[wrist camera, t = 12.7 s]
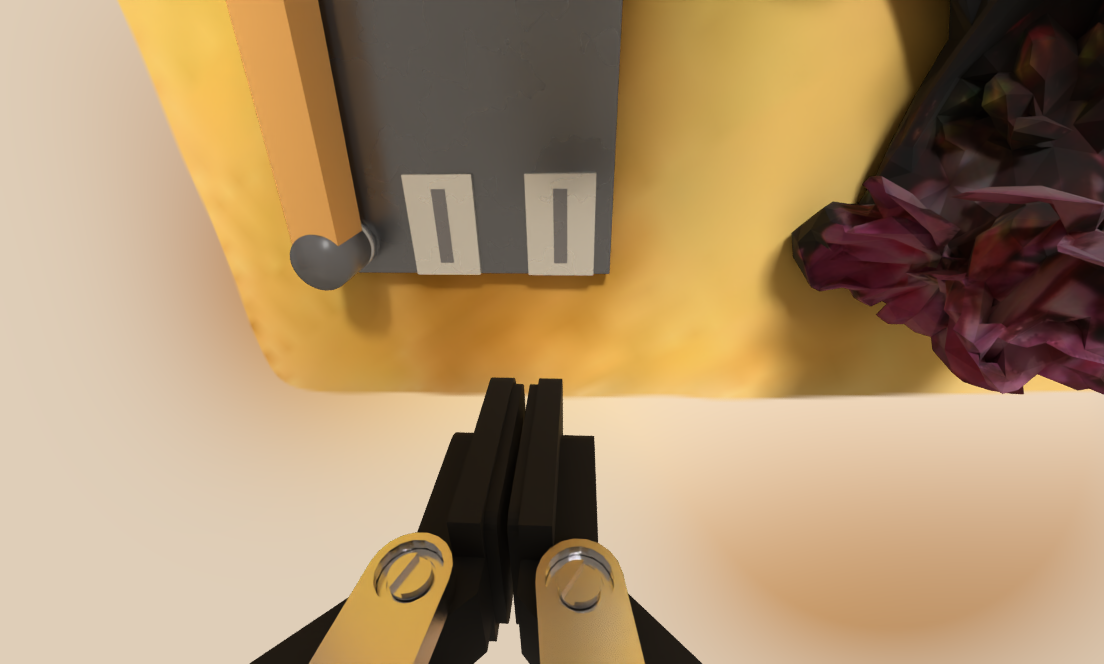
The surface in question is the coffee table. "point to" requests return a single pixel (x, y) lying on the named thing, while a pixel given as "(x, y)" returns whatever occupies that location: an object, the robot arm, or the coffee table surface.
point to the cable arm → (302, 135)
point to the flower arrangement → (989, 202)
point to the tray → (479, 131)
